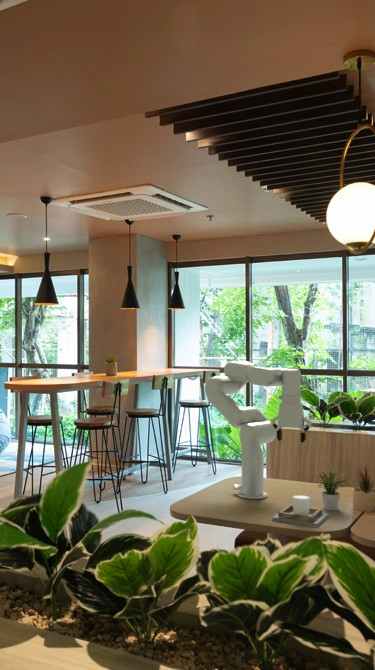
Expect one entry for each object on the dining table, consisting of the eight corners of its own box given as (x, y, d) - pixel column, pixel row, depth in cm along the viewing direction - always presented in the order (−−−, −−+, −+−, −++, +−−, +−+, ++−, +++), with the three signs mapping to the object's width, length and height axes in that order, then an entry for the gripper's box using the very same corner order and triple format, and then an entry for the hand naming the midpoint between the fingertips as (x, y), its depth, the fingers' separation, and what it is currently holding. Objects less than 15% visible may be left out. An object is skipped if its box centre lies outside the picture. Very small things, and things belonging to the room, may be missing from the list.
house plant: (327, 515, 231) (327, 472, 231) (304, 507, 243) (304, 466, 243) (355, 511, 238) (355, 469, 238) (331, 503, 250) (331, 463, 250)
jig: (272, 520, 224) (272, 512, 224) (285, 511, 237) (285, 503, 237) (317, 527, 216) (317, 518, 216) (328, 517, 229) (328, 509, 229)
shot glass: (310, 518, 222) (310, 499, 222) (291, 517, 224) (291, 498, 224) (310, 513, 229) (310, 495, 229) (292, 512, 231) (292, 494, 231)
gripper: (268, 398, 247) (267, 440, 246) (309, 400, 239) (309, 444, 238) (274, 397, 253) (274, 438, 253) (314, 399, 245) (314, 441, 245)
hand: (291, 441), depth 245 cm, fingers open, 9 cm apart
